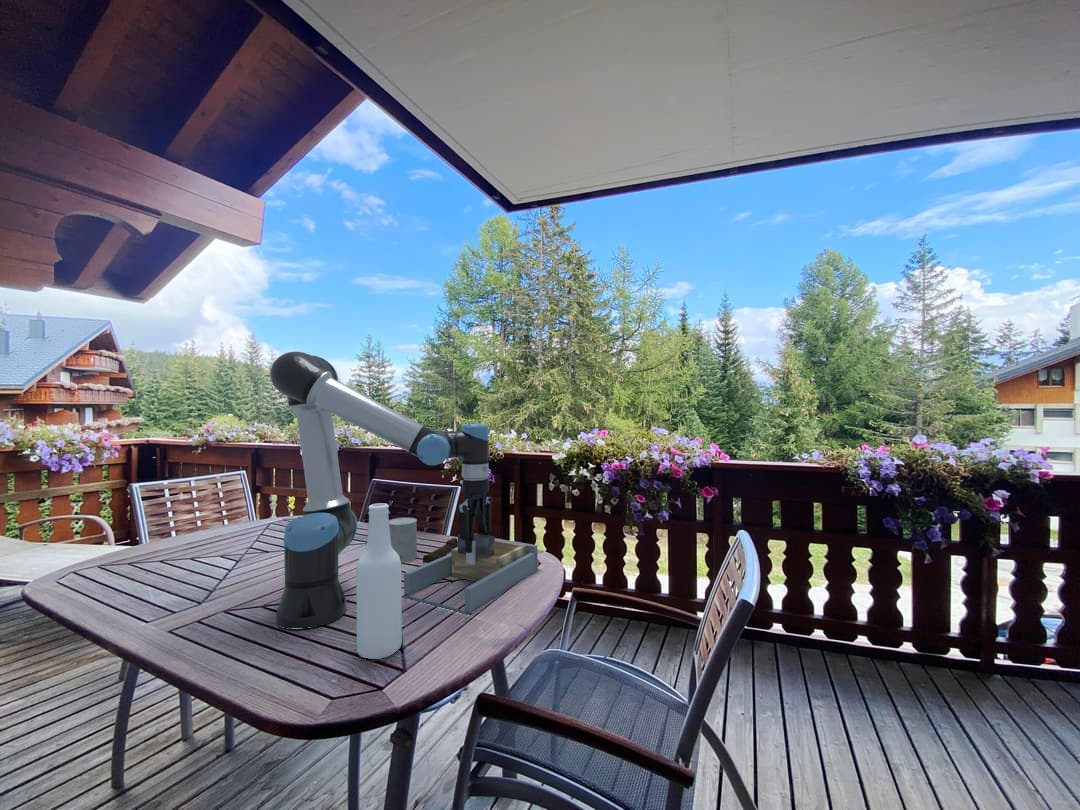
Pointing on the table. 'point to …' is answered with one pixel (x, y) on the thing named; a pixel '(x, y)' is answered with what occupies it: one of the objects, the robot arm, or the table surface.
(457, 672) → the table surface
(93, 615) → the table surface
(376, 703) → the table surface
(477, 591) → the bay
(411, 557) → the grey cylindrical piece
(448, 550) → the hand tool
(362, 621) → the alcohol
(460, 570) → the crate
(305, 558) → the robot arm
